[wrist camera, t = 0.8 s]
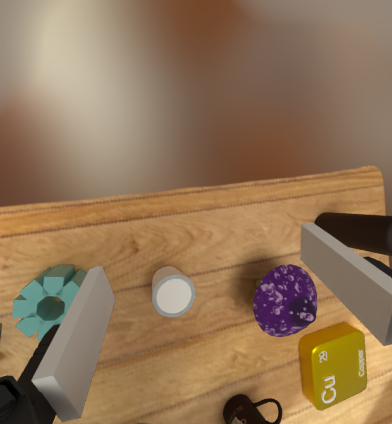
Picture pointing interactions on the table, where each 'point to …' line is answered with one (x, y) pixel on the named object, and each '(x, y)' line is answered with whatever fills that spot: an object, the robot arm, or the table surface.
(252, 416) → the coffee mug
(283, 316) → the decorative mushroom
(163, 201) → the table surface
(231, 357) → the table surface
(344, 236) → the bottle
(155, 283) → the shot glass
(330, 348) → the element tile
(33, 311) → the idler gear
